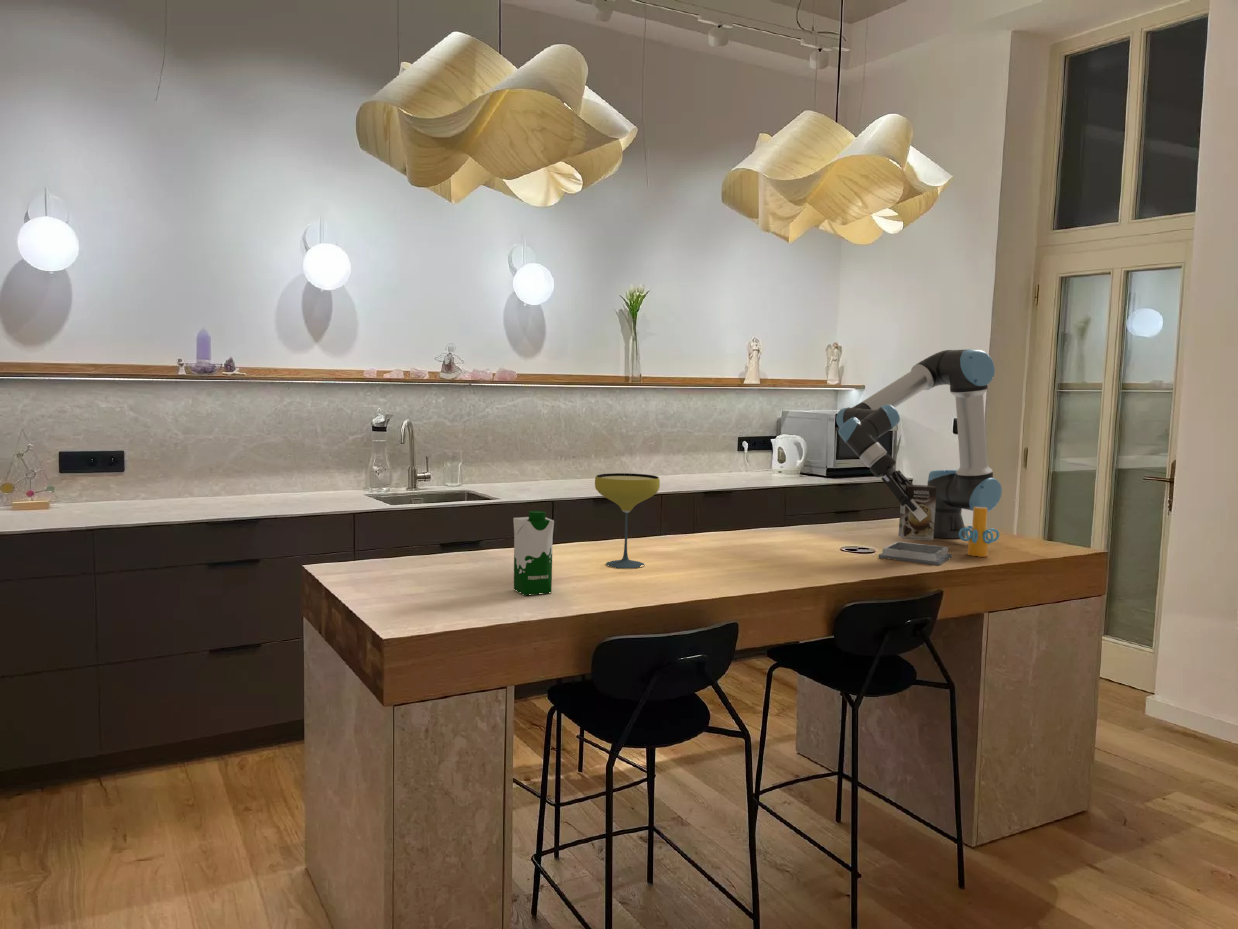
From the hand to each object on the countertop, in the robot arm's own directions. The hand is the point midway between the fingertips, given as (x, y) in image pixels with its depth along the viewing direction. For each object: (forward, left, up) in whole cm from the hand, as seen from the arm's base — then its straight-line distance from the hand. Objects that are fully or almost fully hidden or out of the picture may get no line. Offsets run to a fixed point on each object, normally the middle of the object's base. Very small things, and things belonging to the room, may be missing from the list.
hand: (927, 516), depth 282 cm
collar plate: (0, -3, -13) cm, 13 cm away
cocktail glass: (+65, -67, -13) cm, 94 cm away
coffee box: (0, -3, -7) cm, 8 cm away
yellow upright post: (-16, +12, -13) cm, 24 cm away
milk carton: (+107, -68, -13) cm, 127 cm away
